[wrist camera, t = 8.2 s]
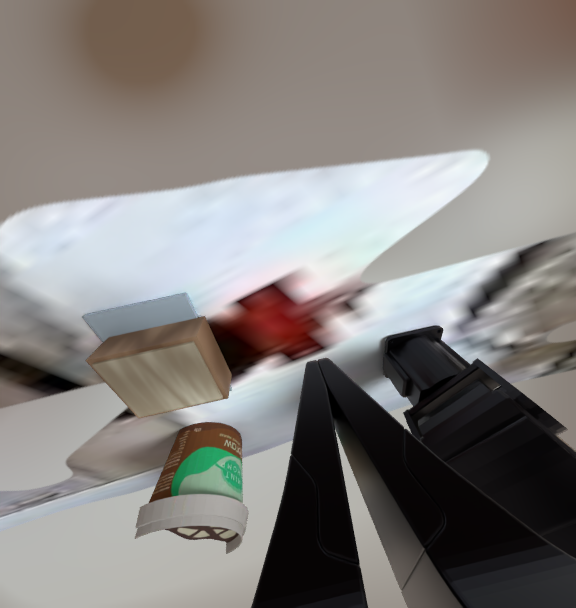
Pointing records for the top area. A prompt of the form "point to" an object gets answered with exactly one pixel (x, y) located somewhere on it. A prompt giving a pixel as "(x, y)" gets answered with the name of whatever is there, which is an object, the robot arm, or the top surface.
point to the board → (141, 316)
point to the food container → (200, 488)
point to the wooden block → (164, 367)
